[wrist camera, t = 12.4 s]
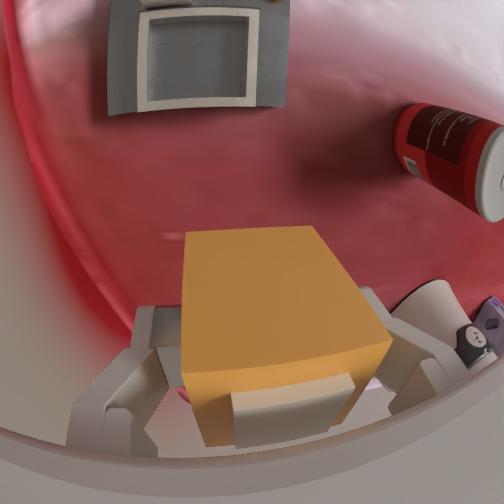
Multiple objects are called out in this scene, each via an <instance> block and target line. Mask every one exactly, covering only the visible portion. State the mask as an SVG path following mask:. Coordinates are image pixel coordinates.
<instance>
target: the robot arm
mask: <svg viewBox="0 0 504 504" xmlns="http://www.w3.org/2000/svg"><path fill="white" fill-rule="evenodd" d="M358 288H359V290H360V291H361V293H362V294H363V295H364V297H365V298H366V300H367V301H368V303H369V304H370V306H371V307H372V308H373V310H374V311H375V313H376V314H377V316H378V317H379V319H380V320H381V322H382V323H383V325H384V326H385V328H386V329H387V331H388V332H389V334H390V335H391V337H392V338H393V341H392V343H391V345H390V347H389V349H388V350H387V352H386V354H385V356H384V358H383V359H382V361H381V363H380V365H379V366H378V368H377V370H376V372H375V373H374V375H373V377H372V378H371V379H373V378H377V379H378V380H379V381H380V383H381V384H382V385H383V387H384V388H385V389H386V390H388V391H391V392H395V393H396V394H397V395H396V396H395V397H394V399H393V400H392V401H391V402H390V404H389V406H388V409H389V411H390V413H391V415H392V416H390V417H388V418H385V419H383V420H380V421H377V422H375V423H372V424H369V425H366V426H364V427H361V428H358V429H355V430H351V431H348V432H345V433H342V434H338V435H335V436H331V437H328V438H324V439H320V440H317V441H312V442H308V443H304V444H300V445H295V446H290V447H285V448H280V449H274V450H268V451H262V452H255V453H248V454H239V455H229V456H218V457H200V458H158V451H157V450H158V449H157V446H156V445H155V443H154V442H153V441H152V440H151V438H150V437H149V436H148V435H147V433H146V432H145V431H144V427H145V425H146V424H147V422H148V421H149V419H150V418H151V416H152V415H153V413H154V411H155V410H156V408H157V407H158V405H159V403H160V402H161V400H162V399H163V397H164V396H165V394H166V393H167V391H168V389H169V387H170V386H185V385H184V381H183V378H182V375H181V316H182V305H156V306H139V307H138V309H137V312H136V317H135V322H134V327H133V333H132V338H131V344H130V349H124V350H123V351H122V352H121V353H120V354H119V355H118V356H117V357H116V358H115V359H114V360H113V361H112V362H111V364H109V365H108V366H107V367H106V369H105V370H104V371H102V373H101V374H100V375H99V376H98V377H97V378H96V379H95V380H94V381H93V382H92V383H91V384H90V385H89V386H88V387H87V388H86V389H85V390H84V391H83V392H82V393H81V394H80V396H79V397H78V398H77V399H76V400H75V401H74V402H73V406H72V411H71V416H70V422H69V427H68V433H67V440H66V446H62V445H58V444H53V443H50V442H46V441H42V440H38V439H35V438H32V437H29V436H25V435H22V434H19V433H16V432H13V431H10V430H7V429H5V428H2V427H0V504H504V354H503V355H502V356H500V357H499V358H498V357H497V356H496V355H495V353H494V350H495V349H494V347H493V346H492V345H491V343H490V342H489V340H488V339H487V338H486V337H485V335H484V334H483V333H482V332H481V331H480V330H479V329H478V328H477V327H476V326H475V325H474V324H472V322H471V321H470V319H469V318H468V317H467V315H466V313H465V312H464V310H463V309H462V307H461V306H460V304H459V302H458V301H457V299H456V297H455V295H454V294H453V292H452V290H451V287H450V285H449V283H448V282H447V281H445V280H435V281H432V282H430V283H427V284H425V285H424V286H422V287H420V288H419V289H417V290H416V291H415V292H413V293H412V294H411V295H410V296H409V297H407V298H406V299H405V300H404V301H403V302H402V303H401V304H400V305H399V306H398V307H397V308H396V309H395V310H394V311H393V312H392V313H391V314H389V312H388V311H387V310H386V308H385V307H384V306H383V304H382V303H381V302H380V300H379V299H378V298H377V296H376V295H375V294H374V292H373V291H372V290H371V288H370V287H368V286H363V287H358Z"/></svg>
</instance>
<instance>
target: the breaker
mask: <svg viewBox="0 0 504 504" xmlns="http://www.w3.org/2000/svg"><path fill="white" fill-rule="evenodd" d="M140 1H141V3H142V5H143V6H144V8H145V9H146V8H154V7H163V6H173V5H189V4H191V1H192V0H140Z"/></svg>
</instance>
